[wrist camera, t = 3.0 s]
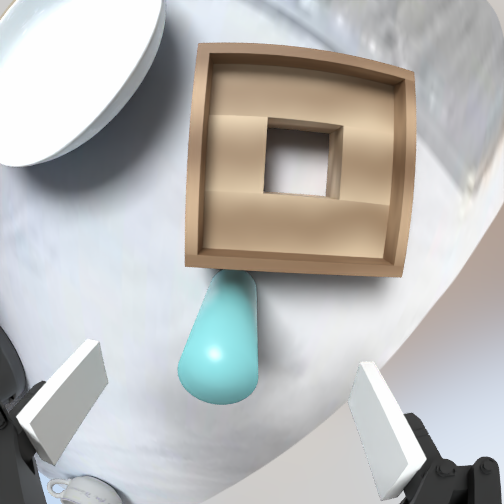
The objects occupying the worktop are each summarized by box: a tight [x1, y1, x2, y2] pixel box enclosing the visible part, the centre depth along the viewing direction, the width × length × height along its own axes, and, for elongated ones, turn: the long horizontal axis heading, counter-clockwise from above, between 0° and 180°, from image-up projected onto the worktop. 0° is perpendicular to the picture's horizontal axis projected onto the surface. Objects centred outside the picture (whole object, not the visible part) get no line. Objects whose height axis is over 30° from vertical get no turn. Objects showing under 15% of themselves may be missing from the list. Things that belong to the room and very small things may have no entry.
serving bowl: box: [0, 0, 166, 167], centre depth 17 cm, size 21×21×7 cm
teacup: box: [47, 476, 122, 504], centre depth 31 cm, size 14×11×8 cm
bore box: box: [185, 43, 416, 277], centre depth 20 cm, size 15×15×6 cm
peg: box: [178, 269, 258, 405], centre depth 19 cm, size 4×4×12 cm
